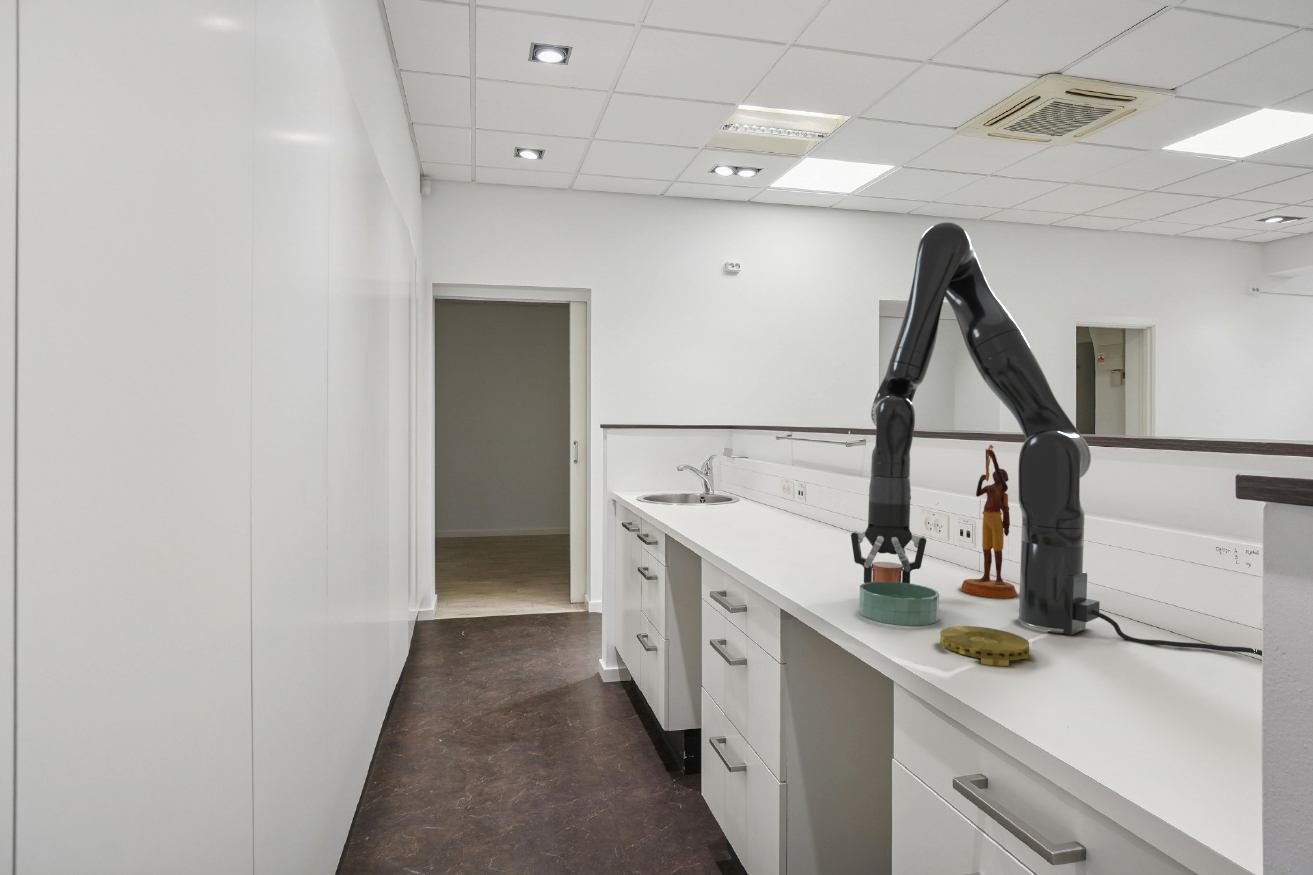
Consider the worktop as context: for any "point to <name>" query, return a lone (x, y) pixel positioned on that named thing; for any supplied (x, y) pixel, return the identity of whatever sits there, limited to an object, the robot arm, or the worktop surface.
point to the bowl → (899, 603)
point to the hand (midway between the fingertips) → (886, 587)
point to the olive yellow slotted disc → (985, 644)
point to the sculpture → (992, 533)
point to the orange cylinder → (886, 571)
